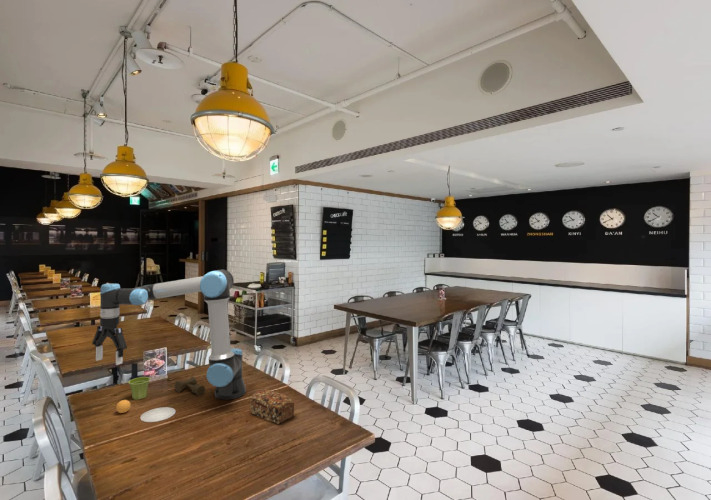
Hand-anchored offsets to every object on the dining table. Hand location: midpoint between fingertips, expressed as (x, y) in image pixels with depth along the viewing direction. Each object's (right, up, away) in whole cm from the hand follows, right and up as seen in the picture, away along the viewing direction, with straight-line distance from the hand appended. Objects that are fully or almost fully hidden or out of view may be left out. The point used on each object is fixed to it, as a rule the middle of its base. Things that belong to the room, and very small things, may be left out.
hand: (109, 362), depth 171 cm
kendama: (+29, -22, +21) cm, 42 cm away
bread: (+78, -23, -6) cm, 81 cm away
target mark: (+27, -22, -6) cm, 35 cm away
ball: (+10, -19, -5) cm, 22 cm away
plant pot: (+7, -22, +12) cm, 26 cm away
